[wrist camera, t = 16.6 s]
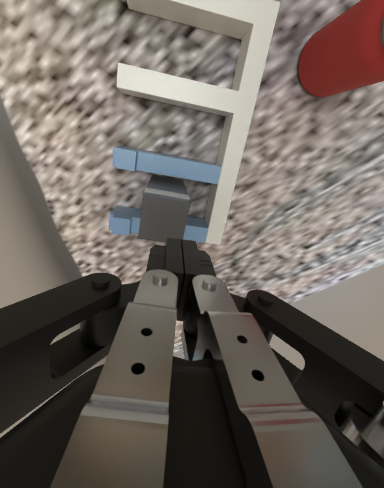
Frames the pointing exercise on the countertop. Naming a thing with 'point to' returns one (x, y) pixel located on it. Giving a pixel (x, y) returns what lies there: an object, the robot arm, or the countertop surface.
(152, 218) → the grey trapezoid block
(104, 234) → the countertop surface
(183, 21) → the duct comb
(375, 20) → the beer can
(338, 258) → the countertop surface
